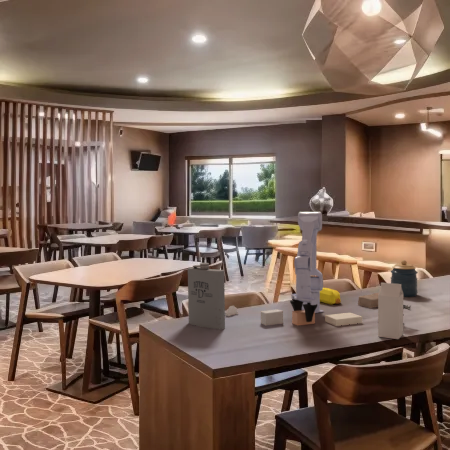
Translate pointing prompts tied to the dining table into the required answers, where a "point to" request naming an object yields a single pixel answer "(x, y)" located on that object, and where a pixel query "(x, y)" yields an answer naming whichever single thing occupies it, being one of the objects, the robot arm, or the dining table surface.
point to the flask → (206, 297)
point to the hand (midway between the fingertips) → (303, 319)
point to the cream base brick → (343, 319)
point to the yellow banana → (330, 296)
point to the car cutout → (231, 311)
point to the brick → (369, 300)
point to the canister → (405, 278)
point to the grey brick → (271, 317)
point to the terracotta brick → (301, 318)
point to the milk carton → (390, 311)
